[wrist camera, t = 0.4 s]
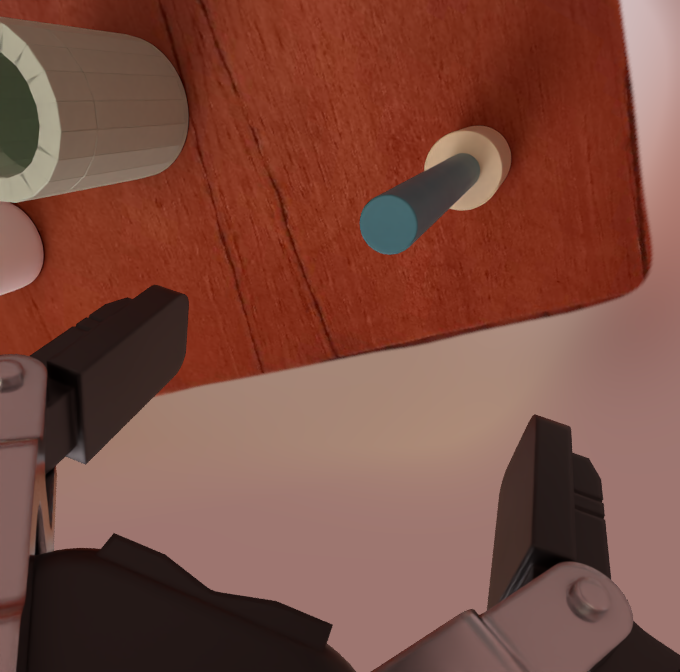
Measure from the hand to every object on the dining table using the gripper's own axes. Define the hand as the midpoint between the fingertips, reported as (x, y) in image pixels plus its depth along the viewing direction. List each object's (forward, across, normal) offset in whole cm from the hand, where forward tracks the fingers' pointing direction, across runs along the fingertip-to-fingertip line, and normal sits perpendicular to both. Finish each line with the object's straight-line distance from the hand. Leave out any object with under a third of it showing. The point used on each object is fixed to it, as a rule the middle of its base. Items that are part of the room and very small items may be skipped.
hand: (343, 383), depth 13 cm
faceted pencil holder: (+31, +26, +5) cm, 41 cm away
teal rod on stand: (+30, 0, +2) cm, 30 cm away
